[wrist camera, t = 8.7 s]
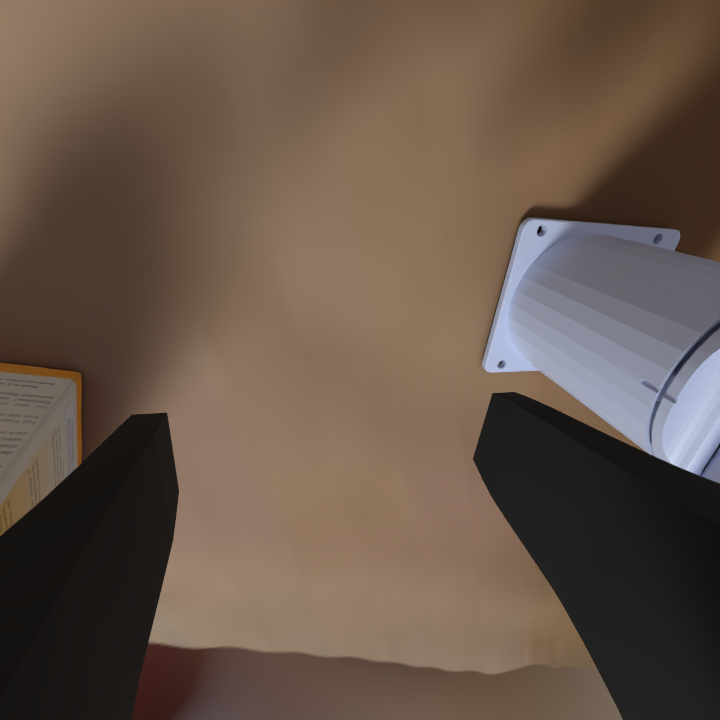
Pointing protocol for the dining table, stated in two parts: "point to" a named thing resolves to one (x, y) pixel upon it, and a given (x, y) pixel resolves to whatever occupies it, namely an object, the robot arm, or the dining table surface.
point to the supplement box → (36, 435)
